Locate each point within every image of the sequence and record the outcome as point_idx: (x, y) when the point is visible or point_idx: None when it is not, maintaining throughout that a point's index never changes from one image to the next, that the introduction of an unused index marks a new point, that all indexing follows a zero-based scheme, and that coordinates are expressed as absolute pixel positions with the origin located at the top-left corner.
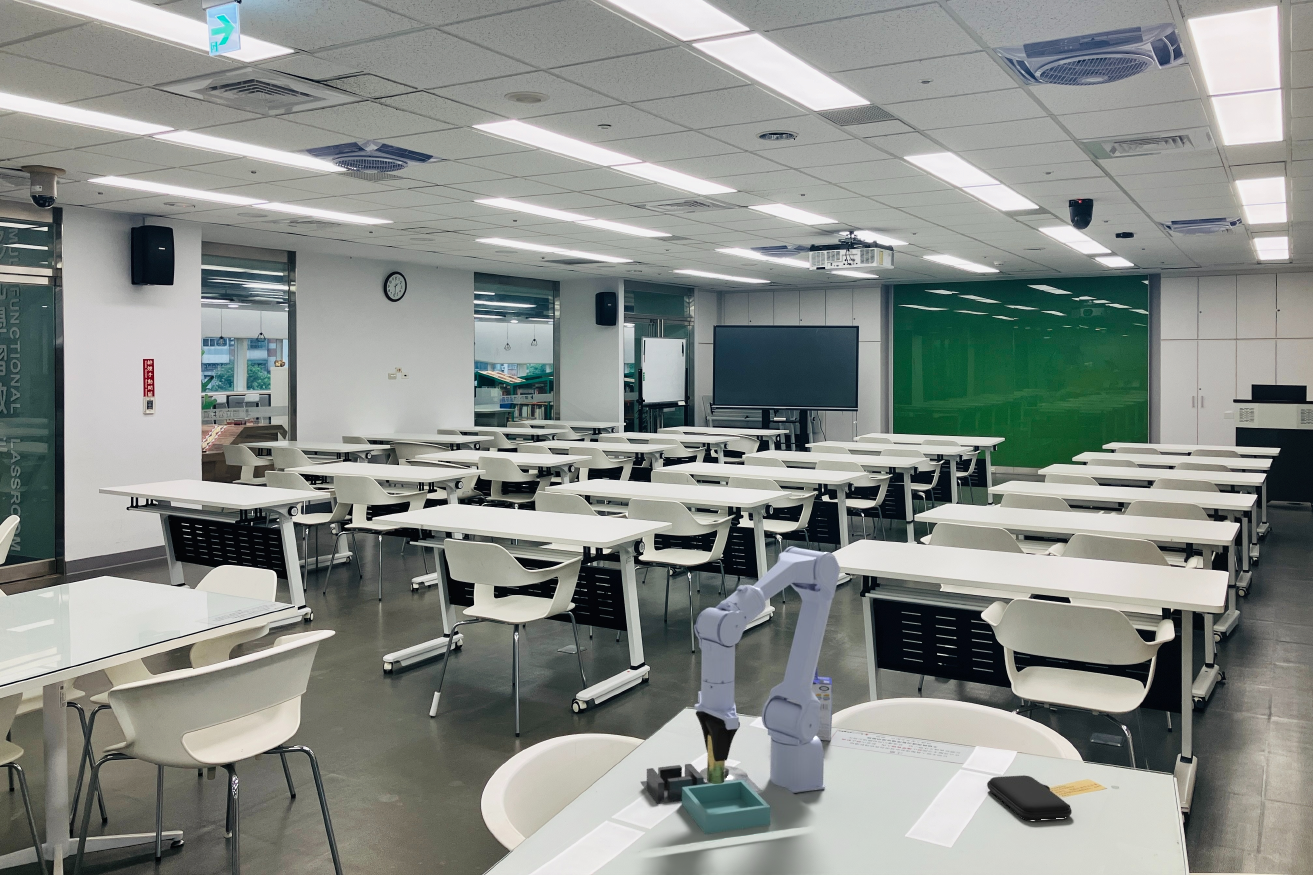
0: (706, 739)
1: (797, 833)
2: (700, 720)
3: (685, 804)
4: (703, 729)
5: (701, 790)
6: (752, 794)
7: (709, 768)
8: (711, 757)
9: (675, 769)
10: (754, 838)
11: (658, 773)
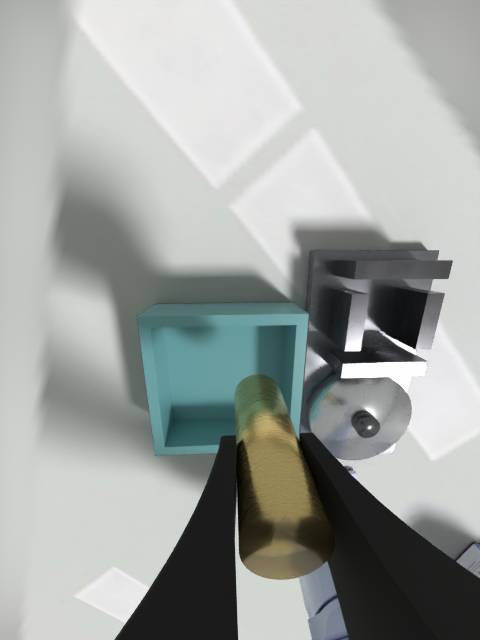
0: (327, 477)
1: (147, 453)
2: (421, 593)
3: (274, 306)
4: (366, 521)
5: (291, 354)
6: None
7: (252, 399)
8: (249, 432)
9: (415, 332)
10: (142, 387)
11: (428, 291)
